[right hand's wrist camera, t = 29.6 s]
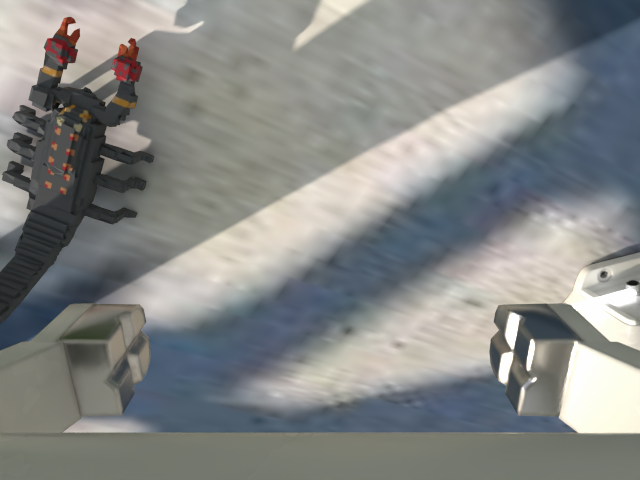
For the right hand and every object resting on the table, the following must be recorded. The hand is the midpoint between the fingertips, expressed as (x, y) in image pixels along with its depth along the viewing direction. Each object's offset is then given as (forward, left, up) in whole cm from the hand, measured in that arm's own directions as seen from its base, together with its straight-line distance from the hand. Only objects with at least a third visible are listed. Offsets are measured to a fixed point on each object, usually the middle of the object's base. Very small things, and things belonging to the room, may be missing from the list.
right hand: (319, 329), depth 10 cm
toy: (+22, -9, -37) cm, 44 cm away
